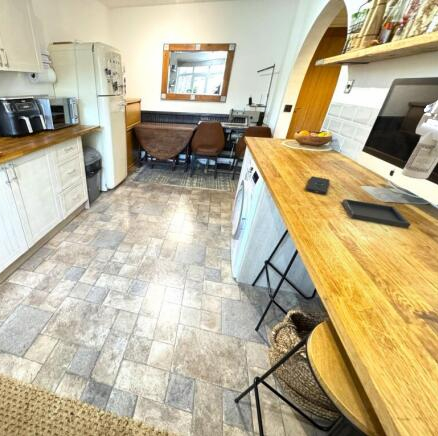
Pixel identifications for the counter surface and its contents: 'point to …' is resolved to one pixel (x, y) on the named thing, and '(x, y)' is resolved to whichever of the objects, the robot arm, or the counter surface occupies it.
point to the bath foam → (421, 159)
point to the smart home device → (318, 185)
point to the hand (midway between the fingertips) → (426, 152)
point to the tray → (375, 213)
